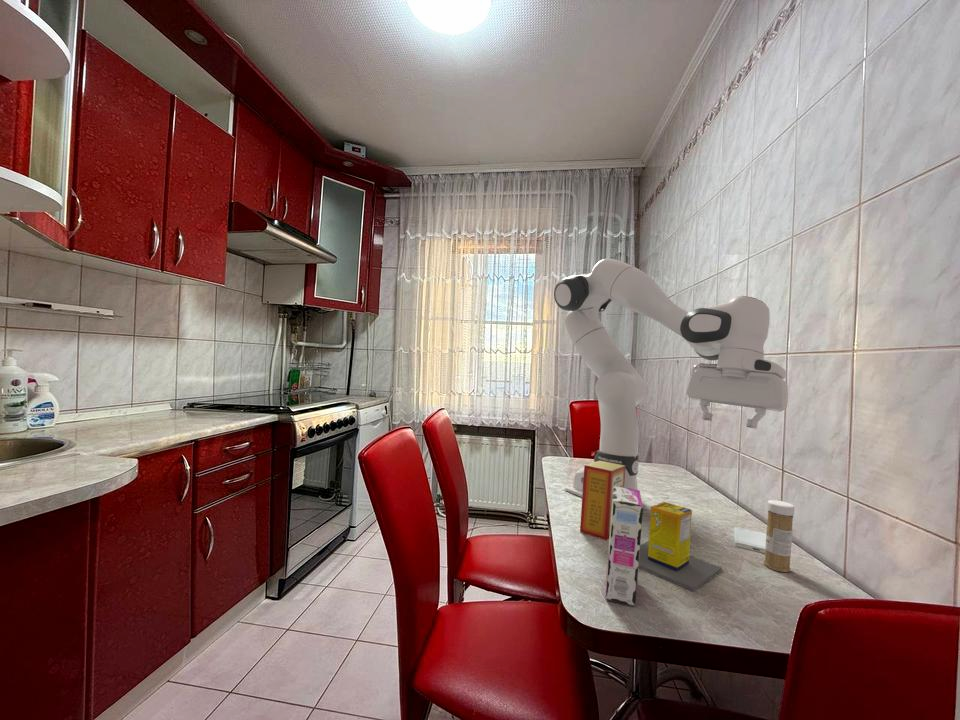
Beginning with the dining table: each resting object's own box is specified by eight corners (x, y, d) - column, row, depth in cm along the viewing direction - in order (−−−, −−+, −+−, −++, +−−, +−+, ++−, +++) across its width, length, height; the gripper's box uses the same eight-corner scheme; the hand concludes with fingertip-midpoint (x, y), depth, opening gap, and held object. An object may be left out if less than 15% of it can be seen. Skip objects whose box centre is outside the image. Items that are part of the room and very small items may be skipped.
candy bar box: (637, 608, 67) (644, 505, 68) (605, 600, 69) (611, 500, 69) (634, 577, 78) (640, 488, 78) (606, 571, 80) (612, 484, 80)
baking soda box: (595, 522, 106) (600, 458, 107) (621, 529, 102) (625, 464, 103) (579, 531, 99) (584, 463, 99) (606, 540, 95) (611, 469, 95)
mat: (616, 558, 86) (616, 555, 86) (649, 543, 95) (649, 540, 95) (693, 591, 74) (693, 587, 74) (721, 570, 84) (722, 567, 84)
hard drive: (734, 526, 108) (735, 541, 97) (772, 534, 104) (778, 551, 93) (733, 532, 108) (734, 548, 97) (772, 541, 104) (777, 558, 93)
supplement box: (659, 553, 88) (663, 501, 89) (689, 564, 84) (692, 509, 84) (646, 560, 84) (650, 505, 85) (677, 572, 80) (680, 514, 80)
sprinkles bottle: (763, 560, 90) (766, 497, 90) (789, 567, 88) (793, 502, 88) (764, 568, 86) (768, 502, 86) (792, 575, 84) (796, 508, 84)
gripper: (687, 359, 103) (676, 413, 102) (786, 365, 87) (774, 430, 86) (699, 365, 107) (688, 418, 106) (795, 372, 91) (784, 435, 89)
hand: (728, 424), depth 95 cm, fingers open, 8 cm apart
